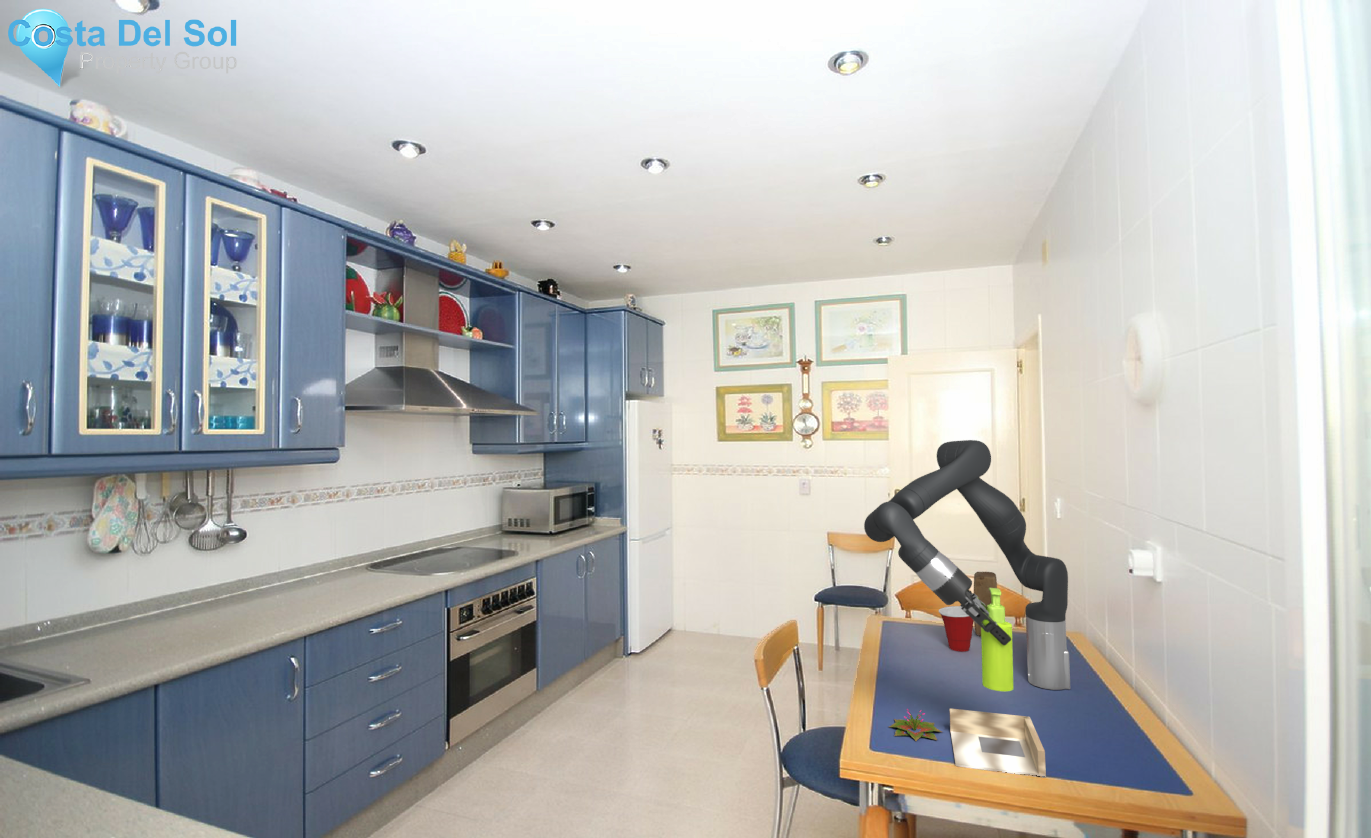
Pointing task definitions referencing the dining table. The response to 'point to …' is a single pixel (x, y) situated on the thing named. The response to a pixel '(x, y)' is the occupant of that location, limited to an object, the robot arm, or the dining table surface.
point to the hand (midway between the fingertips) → (1005, 637)
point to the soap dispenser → (997, 650)
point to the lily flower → (915, 727)
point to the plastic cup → (957, 627)
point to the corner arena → (996, 742)
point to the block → (983, 590)
